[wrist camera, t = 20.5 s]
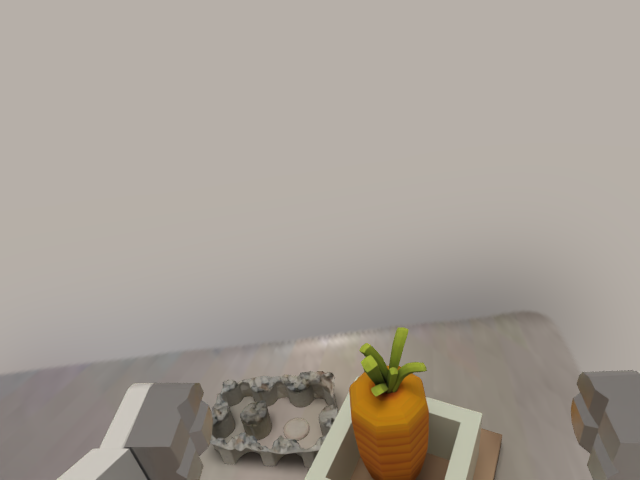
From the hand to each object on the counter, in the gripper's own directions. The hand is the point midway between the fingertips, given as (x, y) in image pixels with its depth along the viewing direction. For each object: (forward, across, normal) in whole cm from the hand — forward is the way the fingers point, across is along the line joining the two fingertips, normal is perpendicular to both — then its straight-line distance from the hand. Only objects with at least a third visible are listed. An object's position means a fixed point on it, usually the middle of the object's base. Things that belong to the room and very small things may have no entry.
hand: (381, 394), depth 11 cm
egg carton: (+18, +10, +28) cm, 35 cm away
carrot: (+12, 0, +26) cm, 29 cm away
